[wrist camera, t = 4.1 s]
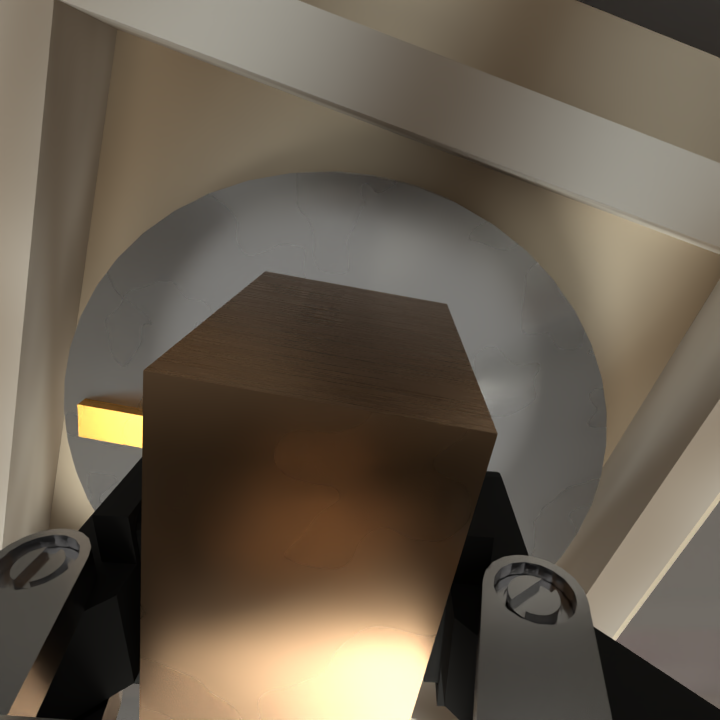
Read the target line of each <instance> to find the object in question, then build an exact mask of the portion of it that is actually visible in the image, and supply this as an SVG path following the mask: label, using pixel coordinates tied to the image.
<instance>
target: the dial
mask: <svg viewBox="0 0 720 720" xmlns="http://www.w3.org/2000/svg"><path fill="white" fill-rule="evenodd" d="M64 415H65V423H66V431H67V439H68V444H69V447H70V451H71V455H72V459H73V462H74V466H75V470H76V472H77V475H78V477H79V480H80V482H81V484H82V487H83V489H84V492H85V494H86V496H87V499H88V500H89V502H90V504H91V506H92V507H93V509H94V511H95V510H96V509H97V508H98V507H99V506H100V505H101V504H102V502H103V501H104V500H105V499H106V498H107V497H108V495H109V494H110V493H111V492H112V491H113V490H114V489H115V487H116V486H117V485H118V484H119V483H120V482H121V481H122V479H123V478H124V477H125V476H126V475H127V474H128V472H129V471H130V470H131V469H132V468H133V467H134V466H135V464H136V463H137V462H138V461H139V460H140V459H141V458H142V522H141V615H140V708H139V720H410V719H411V716H412V713H413V709H414V706H415V703H416V700H417V696H418V693H419V690H420V687H421V683H422V680H423V677H424V674H425V670H426V667H427V664H428V660H429V657H430V654H431V651H432V647H433V644H434V641H435V638H436V634H437V631H438V628H439V625H440V621H441V618H442V615H443V611H444V608H445V605H446V602H447V598H448V595H449V592H450V589H451V585H452V582H453V579H454V576H455V572H456V569H457V566H458V563H459V559H460V556H461V553H462V549H463V546H464V543H465V540H466V536H467V533H468V530H469V527H470V523H471V520H472V517H473V514H474V510H475V507H476V504H477V500H478V497H479V494H480V491H481V487H482V484H483V481H484V478H485V474H486V471H495V472H499V473H500V475H501V477H502V479H503V482H504V485H505V488H506V491H507V494H508V497H509V500H510V503H511V505H512V508H513V511H514V514H515V517H516V520H517V523H518V526H519V529H520V531H521V534H522V537H523V540H524V543H525V546H526V549H527V552H528V555H529V556H533V557H537V558H540V559H544V560H547V561H549V562H551V563H553V564H555V563H556V562H557V561H558V560H559V559H560V558H561V557H562V555H563V554H564V552H565V551H566V549H567V548H568V546H569V545H570V543H571V542H572V540H573V539H574V538H575V536H576V535H577V533H578V531H579V529H580V527H581V525H582V523H583V521H584V519H585V517H586V515H587V513H588V511H589V509H590V507H591V505H592V502H593V499H594V496H595V493H596V490H597V487H598V484H599V480H600V477H601V473H602V467H603V461H604V455H605V449H606V425H607V410H606V403H605V397H604V390H603V383H602V377H601V374H600V370H599V367H598V364H597V361H596V358H595V354H594V351H593V348H592V345H591V342H590V340H589V338H588V336H587V334H586V332H585V330H584V328H583V326H582V324H581V322H580V320H579V318H578V316H577V314H576V312H575V310H574V309H573V307H572V306H571V304H570V303H569V301H568V300H567V298H566V297H565V296H564V294H563V293H562V291H561V290H560V288H559V287H558V286H557V284H556V283H555V281H554V280H553V279H552V278H551V276H550V275H549V274H548V273H547V272H546V271H545V270H544V269H543V268H542V267H541V266H540V265H539V264H538V263H537V262H536V261H535V259H534V258H533V257H532V256H531V255H530V254H529V253H528V252H527V251H526V250H525V249H524V248H522V247H521V246H520V245H519V244H517V243H516V242H515V241H514V240H512V239H511V238H510V237H508V236H507V235H506V234H505V233H503V232H502V231H501V230H500V229H498V228H497V227H496V226H495V225H493V224H492V223H490V222H488V221H486V220H485V219H483V218H481V217H479V216H478V215H476V214H474V213H473V212H471V211H469V210H467V209H466V208H464V207H462V206H461V205H459V204H457V203H455V202H454V201H452V200H450V199H448V198H446V197H443V196H441V195H439V194H436V193H434V192H431V191H429V190H426V189H424V188H421V187H419V186H416V185H414V184H410V183H406V182H402V181H398V180H394V179H390V178H386V177H382V176H378V175H370V174H361V173H352V172H343V171H333V172H302V173H288V174H282V175H277V176H271V177H265V178H260V179H254V180H248V181H245V182H242V183H239V184H236V185H233V186H230V187H227V188H224V189H221V190H218V191H215V192H212V193H209V194H207V195H205V196H203V197H201V198H199V199H197V200H195V201H193V202H191V203H189V204H187V205H185V206H183V207H181V208H179V209H177V210H175V211H173V212H172V213H171V214H169V215H168V216H166V217H165V218H164V219H162V220H161V221H159V222H158V223H157V224H155V225H154V226H152V227H151V228H150V229H148V230H147V231H145V232H144V233H143V234H142V235H141V236H140V237H139V238H138V239H137V240H136V241H135V242H134V243H132V244H131V245H130V246H129V247H128V248H127V249H126V250H125V251H124V252H123V253H122V254H121V255H120V256H119V257H118V258H117V259H116V261H115V262H114V263H113V265H112V266H111V267H110V269H109V270H108V271H107V273H106V274H105V275H104V277H103V278H102V279H101V281H100V282H99V283H98V285H97V286H96V288H95V290H94V292H93V294H92V296H91V297H90V299H89V301H88V303H87V305H86V307H85V309H84V311H83V313H82V315H81V317H80V319H79V322H78V325H77V328H76V331H75V334H74V337H73V340H72V343H71V346H70V350H69V356H68V362H67V368H66V374H65V382H64Z"/></svg>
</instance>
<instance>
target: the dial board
mask: <svg viewBox="0 0 720 720" xmlns="http://www.w3.org/2000/svg"><path fill="white" fill-rule="evenodd" d="M333 171H343V172H352V173H361V174H370V175H378V176H382V177H386V178H390V179H394V180H398V181H402V182H406V183H410V184H414V185H416V186H419V187H421V188H424V189H426V190H429V191H431V192H434V193H436V194H439V195H441V196H443V197H446V198H448V199H450V200H452V201H454V202H455V203H457V204H459V205H461V206H462V207H464V208H466V209H467V210H469V211H471V212H473V213H474V214H476V215H478V216H479V217H481V218H483V219H485V220H486V221H488V222H490V223H492V224H493V225H495V226H496V227H497V228H498V229H500V230H501V231H502V232H503V233H505V234H506V235H507V236H508V237H510V238H511V239H512V240H514V241H515V242H516V243H517V244H519V245H520V246H521V247H522V248H524V249H525V250H526V251H527V252H528V253H529V254H530V255H531V256H532V257H533V258H534V259H535V261H536V262H537V263H538V264H539V265H540V266H541V267H542V268H543V269H544V270H545V271H546V272H547V273H548V274H549V275H550V276H551V278H552V279H553V280H554V281H555V283H556V284H557V286H558V287H559V288H560V290H561V291H562V293H563V294H564V296H565V297H566V298H567V300H568V301H569V303H570V304H571V306H572V307H573V309H574V310H575V312H576V314H577V316H578V318H579V320H580V322H581V324H582V326H583V328H584V330H585V332H586V334H587V336H588V338H589V340H590V342H591V345H592V348H593V351H594V354H595V358H596V361H597V364H598V367H599V370H600V374H601V377H602V383H603V390H604V397H605V403H606V410H607V425H606V449H605V455H604V461H603V467H602V473H601V477H600V480H599V484H598V487H597V490H596V493H595V496H594V499H593V502H592V505H591V507H590V509H589V511H588V513H587V515H586V517H585V519H584V521H583V523H582V525H581V527H580V529H579V531H578V533H577V535H576V536H575V538H574V539H573V540H572V542H571V543H570V545H569V546H568V548H567V549H566V551H565V552H564V554H563V555H562V557H561V558H560V559H559V560H558V561H557V562H556V563H555V565H557V566H559V567H561V568H562V569H564V570H565V571H566V572H567V573H569V574H570V575H571V576H572V577H574V578H575V579H576V581H577V582H578V583H579V584H580V586H581V587H582V588H583V589H584V592H585V594H586V597H587V599H588V602H589V606H590V611H591V616H592V621H593V626H594V627H595V628H597V629H598V630H600V631H601V632H603V633H604V634H606V635H607V636H609V637H610V638H612V639H613V640H615V641H616V639H617V638H618V637H619V635H620V634H621V633H622V631H623V630H624V629H625V627H626V626H627V624H628V623H629V622H630V620H631V619H632V618H633V616H634V615H635V614H636V612H637V611H638V610H639V608H640V607H641V606H642V604H643V603H644V602H645V600H646V599H647V598H648V596H649V595H650V594H651V592H652V591H653V590H654V588H655V587H656V586H657V584H658V583H659V582H660V580H661V579H662V577H663V576H664V575H665V573H666V572H667V571H668V569H669V568H670V567H671V565H672V564H673V563H674V561H675V560H676V559H677V557H678V556H679V555H680V553H681V552H682V551H683V549H684V548H685V547H686V545H687V544H688V543H689V541H690V540H691V539H692V537H693V536H694V535H695V533H696V532H697V531H698V529H699V528H700V526H701V525H702V524H703V522H704V521H705V520H706V518H707V517H708V516H709V514H710V513H711V512H712V510H713V509H714V508H715V506H716V505H717V504H718V502H719V501H720V58H719V57H716V56H714V55H711V54H709V53H706V52H704V51H701V50H699V49H696V48H694V47H691V46H689V45H686V44H684V43H681V42H679V41H676V40H674V39H671V38H669V37H666V36H664V35H661V34H659V33H656V32H654V31H651V30H649V29H646V28H644V27H641V26H639V25H636V24H634V23H631V22H629V21H626V20H624V19H621V18H619V17H616V16H614V15H611V14H609V13H606V12H604V11H601V10H599V9H596V8H594V7H591V6H589V5H586V4H584V3H582V2H579V1H577V0H0V550H2V549H3V548H5V547H6V546H8V545H9V544H11V543H13V542H15V541H17V540H19V539H21V538H23V537H25V536H28V535H31V534H34V533H37V532H41V531H45V530H52V529H73V530H76V531H78V530H79V529H80V528H81V527H82V525H83V524H84V523H85V522H86V521H87V520H88V519H89V517H90V516H91V515H92V514H93V513H94V512H95V511H94V509H93V507H92V506H91V504H90V502H89V500H88V499H87V496H86V494H85V492H84V489H83V487H82V484H81V482H80V480H79V477H78V475H77V472H76V470H75V466H74V462H73V459H72V455H71V451H70V447H69V444H68V439H67V431H66V423H65V415H64V382H65V374H66V368H67V362H68V356H69V350H70V346H71V343H72V340H73V337H74V334H75V331H76V328H77V325H78V322H79V319H80V317H81V315H82V313H83V311H84V309H85V307H86V305H87V303H88V301H89V299H90V297H91V296H92V294H93V292H94V290H95V288H96V286H97V285H98V283H99V282H100V281H101V279H102V278H103V277H104V275H105V274H106V273H107V271H108V270H109V269H110V267H111V266H112V265H113V263H114V262H115V261H116V259H117V258H118V257H119V256H120V255H121V254H122V253H123V252H124V251H125V250H126V249H127V248H128V247H129V246H130V245H131V244H132V243H134V242H135V241H136V240H137V239H138V238H139V237H140V236H141V235H142V234H143V233H144V232H145V231H147V230H148V229H150V228H151V227H152V226H154V225H155V224H157V223H158V222H159V221H161V220H162V219H164V218H165V217H166V216H168V215H169V214H171V213H172V212H173V211H175V210H177V209H179V208H181V207H183V206H185V205H187V204H189V203H191V202H193V201H195V200H197V199H199V198H201V197H203V196H205V195H207V194H209V193H212V192H215V191H218V190H221V189H224V188H227V187H230V186H233V185H236V184H239V183H242V182H245V181H248V180H254V179H260V178H265V177H271V176H277V175H282V174H288V173H302V172H333ZM410 720H459V719H458V718H457V717H456V716H454V715H453V714H452V713H451V712H450V711H449V710H448V709H447V708H446V707H445V706H437V701H436V688H435V683H433V682H424V681H423V680H422V683H421V687H420V690H419V693H418V696H417V700H416V703H415V706H414V709H413V713H412V716H411V719H410Z"/></svg>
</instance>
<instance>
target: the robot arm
mask: <svg viewBox="0 0 720 720" xmlns="http://www.w3.org/2000/svg"><path fill="white" fill-rule="evenodd" d="M141 522H142V458H141V459H140V460H139V461H138V462H137V463H136V464H135V466H134V467H133V468H132V469H131V470H130V471H129V472H128V474H127V475H126V476H125V477H124V478H123V479H122V481H121V482H120V483H119V484H118V485H117V486H116V487H115V489H114V490H113V491H112V492H111V493H110V494H109V495H108V497H107V498H106V499H105V500H104V501H103V502H102V504H101V505H100V506H99V507H98V508H97V509H96V510H95V512H94V513H93V514H92V515H91V516H90V517H89V519H88V520H87V521H86V522H85V523H84V524H83V525H82V527H81V528H80V529H79V530H78V531H76V530H73V529H52V530H45V531H41V532H37V533H34V534H31V535H28V536H25V537H23V538H21V539H19V540H17V541H15V542H13V543H11V544H9V545H8V546H6V547H5V548H3V549H2V550H0V720H116V718H117V714H118V711H119V708H120V705H121V699H122V693H123V691H122V690H123V689H125V688H126V687H128V686H130V685H131V684H133V683H135V684H140V615H141ZM423 681H424V682H433V683H435V688H436V701H437V706H445V707H446V708H447V709H448V710H449V711H450V712H451V713H452V714H453V715H454V716H456V717H457V718H458V719H459V720H720V709H718V708H717V707H715V706H714V705H712V704H710V703H709V702H707V701H706V700H704V699H703V698H701V697H700V696H698V695H697V694H695V693H694V692H692V691H691V690H689V689H688V688H686V687H685V686H683V685H682V684H680V683H679V682H677V681H676V680H674V679H673V678H671V677H670V676H668V675H667V674H665V673H663V672H662V671H660V670H659V669H657V668H656V667H654V666H653V665H651V664H650V663H648V662H647V661H645V660H644V659H642V658H641V657H639V656H638V655H636V654H635V653H633V652H632V651H630V650H629V649H627V648H626V647H624V646H623V645H621V644H619V643H618V642H616V641H615V640H613V639H612V638H610V637H609V636H607V635H606V634H604V633H603V632H601V631H600V630H598V629H597V628H595V627H594V626H593V621H592V616H591V611H590V606H589V602H588V599H587V597H586V594H585V592H584V589H583V588H582V587H581V586H580V584H579V583H578V582H577V581H576V579H575V578H574V577H572V576H571V575H570V574H569V573H567V572H566V571H565V570H564V569H562V568H561V567H559V566H557V565H555V564H553V563H551V562H549V561H547V560H544V559H540V558H537V557H533V556H529V555H528V552H527V549H526V546H525V543H524V540H523V537H522V534H521V531H520V529H519V526H518V523H517V520H516V517H515V514H514V511H513V508H512V505H511V503H510V500H509V497H508V494H507V491H506V488H505V485H504V482H503V479H502V477H501V475H500V473H499V472H495V471H486V474H485V478H484V481H483V484H482V487H481V491H480V494H479V497H478V500H477V504H476V507H475V510H474V514H473V517H472V520H471V523H470V527H469V530H468V533H467V536H466V540H465V543H464V546H463V549H462V553H461V556H460V559H459V563H458V566H457V569H456V572H455V576H454V579H453V582H452V585H451V589H450V592H449V595H448V598H447V602H446V605H445V608H444V611H443V615H442V618H441V621H440V625H439V628H438V631H437V634H436V638H435V641H434V644H433V647H432V651H431V654H430V657H429V660H428V664H427V667H426V670H425V674H424V677H423Z"/></svg>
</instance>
